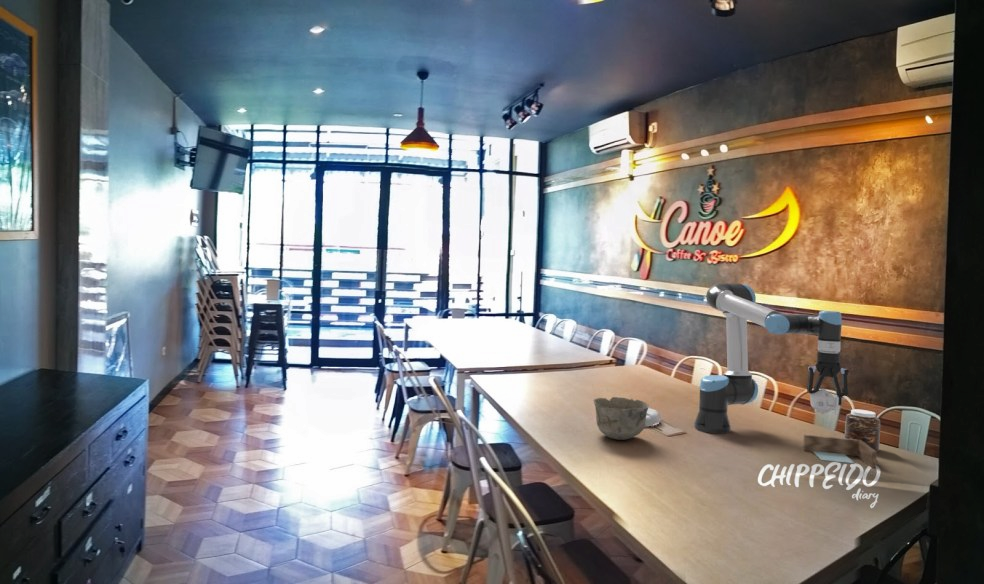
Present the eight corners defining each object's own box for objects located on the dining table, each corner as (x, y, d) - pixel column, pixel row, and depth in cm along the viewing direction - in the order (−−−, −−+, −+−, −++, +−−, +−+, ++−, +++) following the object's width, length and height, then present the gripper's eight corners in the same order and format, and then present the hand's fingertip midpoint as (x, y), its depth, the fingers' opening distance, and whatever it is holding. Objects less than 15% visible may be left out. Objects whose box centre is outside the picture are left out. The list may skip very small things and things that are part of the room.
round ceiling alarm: (671, 422, 273) (672, 409, 272) (656, 433, 252) (656, 419, 251) (620, 413, 286) (620, 401, 286) (600, 424, 265) (601, 410, 265)
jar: (874, 446, 241) (875, 410, 241) (882, 454, 230) (884, 416, 230) (841, 442, 245) (843, 407, 244) (848, 450, 234) (850, 413, 233)
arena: (814, 462, 217) (815, 445, 217) (803, 449, 233) (804, 434, 233) (875, 468, 212) (876, 451, 212) (860, 455, 228) (860, 439, 228)
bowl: (651, 436, 246) (652, 400, 245) (641, 449, 226) (643, 410, 226) (599, 428, 255) (601, 394, 255) (586, 441, 235) (587, 403, 235)
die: (816, 416, 217) (817, 389, 217) (804, 411, 226) (806, 385, 226) (840, 417, 217) (841, 390, 217) (827, 412, 226) (828, 386, 226)
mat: (821, 460, 219) (821, 459, 219) (813, 452, 230) (813, 451, 230) (854, 463, 217) (854, 462, 217) (844, 455, 227) (844, 454, 227)
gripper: (803, 351, 220) (800, 412, 221) (860, 354, 215) (857, 417, 216) (798, 349, 228) (796, 408, 228) (853, 352, 222) (851, 413, 223)
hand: (826, 412), depth 222 cm, fingers closed on die, 6 cm apart
